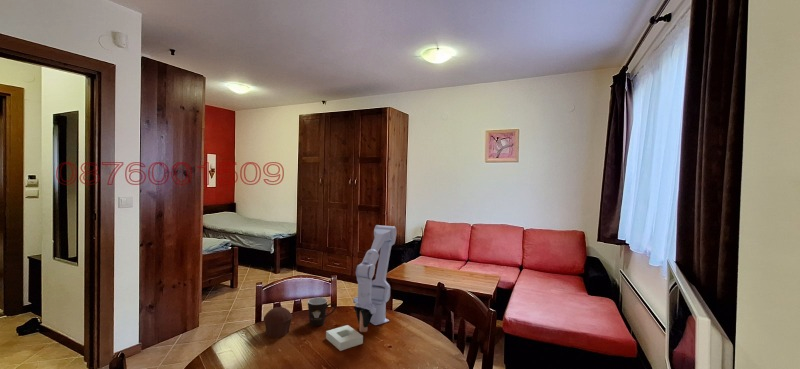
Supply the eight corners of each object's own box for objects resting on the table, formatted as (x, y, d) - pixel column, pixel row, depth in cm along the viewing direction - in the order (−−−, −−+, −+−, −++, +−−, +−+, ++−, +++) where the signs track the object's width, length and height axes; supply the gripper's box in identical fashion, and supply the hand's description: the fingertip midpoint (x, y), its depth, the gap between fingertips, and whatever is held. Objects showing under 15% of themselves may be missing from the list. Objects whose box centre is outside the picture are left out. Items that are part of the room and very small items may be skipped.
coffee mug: (303, 325, 143) (303, 302, 143) (313, 318, 151) (314, 296, 151) (326, 329, 139) (327, 306, 139) (336, 321, 148) (336, 300, 148)
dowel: (357, 329, 136) (358, 310, 136) (364, 327, 139) (365, 309, 138) (362, 332, 134) (362, 313, 134) (369, 330, 136) (369, 311, 136)
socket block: (325, 338, 132) (326, 331, 132) (347, 331, 138) (347, 324, 138) (340, 350, 123) (340, 343, 123) (362, 343, 129) (363, 335, 129)
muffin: (259, 331, 136) (259, 307, 136) (285, 324, 144) (285, 301, 144) (269, 342, 127) (270, 316, 127) (296, 334, 135) (297, 310, 135)
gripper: (347, 289, 139) (346, 321, 139) (366, 299, 128) (365, 334, 128) (361, 286, 144) (360, 317, 144) (380, 296, 132) (379, 329, 132)
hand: (363, 324), depth 136 cm, fingers closed on dowel, 3 cm apart
